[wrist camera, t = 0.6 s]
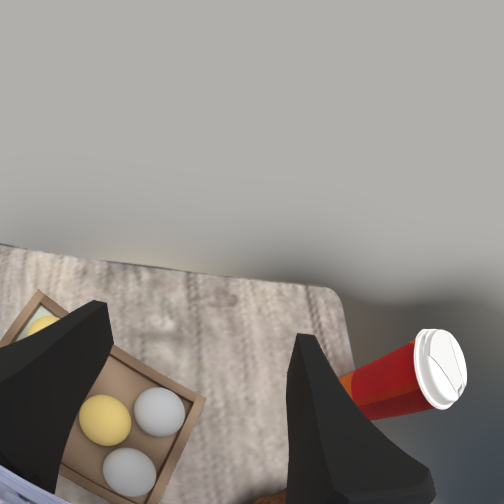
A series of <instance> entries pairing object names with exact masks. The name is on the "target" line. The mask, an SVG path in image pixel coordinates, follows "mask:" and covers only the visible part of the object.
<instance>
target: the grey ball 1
mask: <svg viewBox="0 0 504 504" xmlns="http://www.w3.org/2000/svg"><path fill="white" fill-rule="evenodd" d="M103 475H104V478H105V480H106V482H107V483H108V485H109V486H110V487H111V488H112V489H113V490H115V491H116V492H118V493H119V494H122V495H125V496H130V497H136V496H141V495H144V494H146V493H147V492H149V491H150V490H151V489H152V487H153V486H154V484H155V481H156V470H155V467H154V465H153V463H152V461H151V460H150V459H149V457H147V456H146V455H145V454H144V453H142V452H141V451H139V450H137V449H133V448H119V449H116V450H114V451H112V452H111V453H109V454H108V456H107V457H106V458H105V460H104V463H103Z"/></svg>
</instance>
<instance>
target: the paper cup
mask: <svg viewBox="0 0 504 504" xmlns="http://www.w3.org/2000/svg"><path fill="white" fill-rule="evenodd" d="M339 381H340V382H341V384H342V385H343V387H344V388H345V390H346V391H347V393H348V394H349V396H350V397H351V398H352V400H353V401H354V402H355V404H356V405H357V406H358V407H359V409H360V410H361V411H362V412H363V413H364V415H365V416H366V417H367V418H368V419H369V420H377V419H383V418H389V417H395V416H401V415H405V414H410V413H415V412H420V411H425V410H429V409H433V408H437V409H446V408H448V407H450V406H451V405H452V404H453V403H454V402H455V401H456V400H458V397H460V395H461V393H462V392H463V390H464V388H465V386H466V381H467V372H466V365H465V360H464V356H463V353H462V351H461V348H460V346H459V344H458V343H457V341H456V340H455V338H454V337H453V336H452V335H451V334H450V333H449V332H447V331H444V330H437V329H423V330H422V331H420V332H419V333H418V335H417V337H416V339H415V340H413V341H411V342H409V343H408V344H406V345H404V346H402V347H400V348H398V349H396V350H395V351H393V352H391V353H389V354H387V355H385V356H383V357H381V358H379V359H377V360H375V361H373V362H371V363H369V364H367V365H365V366H363V367H361V368H359V369H357V370H355V371H353V372H351V373H349V374H347V375H345V376H343V377H341V378H339Z"/></svg>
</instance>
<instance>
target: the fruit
mask: <svg viewBox="0 0 504 504" xmlns="http://www.w3.org/2000/svg"><path fill="white" fill-rule="evenodd" d="M286 490H287V488H285V489H284V490H282V491H281V492H279V493H277V494H275V495H273V496H271V497H260V498H259V499H258V500H256V501H255V502H254V503H253V504H285V500H286Z"/></svg>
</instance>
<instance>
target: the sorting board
mask: <svg viewBox="0 0 504 504" xmlns="http://www.w3.org/2000/svg"><path fill="white" fill-rule="evenodd" d="M68 314H69V313H68V312H67V311H66V310H64V309H63V308H62V307H60V306H59V305H58V304H57V303H55V302H54V301H53V300H51V299H50V298H49V297H48V296H46V295H45V294H44V293H43V292H41V291H40V290H39V289H38V290H37V292H36V293H35V294H34V296H33V297H32V298H31V299H30V301H29V302H28V303H27V305H26V306H25V307H24V309H23V310H22V311H21V313H20V314H19V315H18V317H17V318H16V320H15V321H14V322H13V324H12V325H11V327H10V328H9V329H8V331H7V332H6V334H5V335H4V337H3V338H2V340H1V341H0V347H3V346H6V345H9V344H12V343H14V342H16V341H19V340H21V339H23V338H25V337H27V334H28V330H29V328H30V326H31V325H32V324H33V322H34V321H35V320H37V319H38V318H40V317H43V316H54V317H57V318H60V319H61V318H63V317H64V316H66V315H68ZM155 387H159V388H165V389H168V390H170V391H172V392H173V393H175V394H176V395H177V396H178V397H179V398H180V400H181V401H182V403H183V405H184V409H185V419H184V422H183V424H182V426H181V427H180V429H179V430H178V431H177V432H175V433H174V434H172V435H169V436H165V437H157V436H153V435H150V434H148V433H146V432H145V431H143V430H142V429H141V428H140V427H139V425H138V424H137V422H136V420H135V417H134V412H133V408H134V404H135V401H136V399H137V397H138V396H139V395H140V394H141V393H142V392H144V391H145V390H147V389H150V388H155ZM96 395H109V396H112V397H114V398H116V399H118V400H119V401H120V402H122V403H123V404H124V405H125V407H126V408H127V410H128V412H129V414H130V417H131V429H130V432H129V435H128V436H127V438H126V439H125V440H124V441H122V442H121V443H119V444H117V445H113V446H103V445H100V444H97V443H95V442H93V441H92V440H90V439H89V438H88V437H87V436H86V435H85V433H84V432H83V430H82V428H81V426H80V422H79V413H80V409H81V407H82V405H83V404H84V402H85V401H86V400H88V399H89V398H91V397H93V396H96ZM205 401H206V398H204V397H202V396H200V395H199V394H197V393H195V392H193V391H191V390H189V389H187V388H185V387H184V386H182V385H180V384H178V383H176V382H175V381H173V380H171V379H169V378H168V377H166V376H164V375H162V374H161V373H159V372H157V371H155V370H154V369H152V368H150V367H149V366H147V365H145V364H144V363H142V362H141V361H139V360H137V359H136V358H134V357H132V356H131V355H129V354H128V353H126V352H125V351H123V350H121V349H120V348H118V347H117V346H115V345H114V344H113V347H112V349H111V352H110V354H109V357H108V359H107V361H106V363H105V365H104V367H103V369H102V371H101V372H100V374H99V376H98V378H97V379H96V381H95V383H94V384H93V386H92V388H91V390H90V391H89V393H88V395H87V397H86V398H85V400H84V402H83V404H82V405H81V407H80V409H79V411H78V414H77V416H76V419H75V421H74V424H73V426H72V429H71V431H70V434H69V437H68V440H67V443H66V446H65V450H64V453H63V457H62V461H61V464H60V468H59V473H60V474H61V475H63V476H65V477H66V478H68V479H70V480H71V481H73V482H75V483H76V484H78V485H80V486H82V487H83V488H85V489H87V490H89V491H91V492H93V493H94V494H96V495H98V496H100V497H102V498H104V499H106V500H108V501H110V502H112V503H114V504H158V503H159V501H160V499H161V497H162V494H163V492H164V490H165V488H166V486H167V484H168V482H169V479H170V477H171V475H172V473H173V471H174V469H175V467H176V464H177V462H178V460H179V458H180V456H181V454H182V451H183V449H184V447H185V445H186V443H187V440H188V438H189V436H190V434H191V432H192V430H193V427H194V425H195V423H196V421H197V419H198V416H199V414H200V412H201V410H202V407H203V405H204V403H205ZM119 448H133V449H137V450H139V451H141V452H142V453H144V454H145V455H146V456H147V457H149V459H150V460H151V461H152V463H153V465H154V467H155V470H156V481H155V484H154V486H153V487H152V489H151V490H150V491H149V492H147V493H146V494H144V495H141V496H136V497H130V496H125V495H122V494H119V493H118V492H116V491H115V490H113V489H112V488H111V487H110V486H109V485H108V483H107V482H106V480H105V478H104V475H103V463H104V460H105V458H106V457H107V456H108V454H109V453H111V452H112V451H114V450H116V449H119Z"/></svg>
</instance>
